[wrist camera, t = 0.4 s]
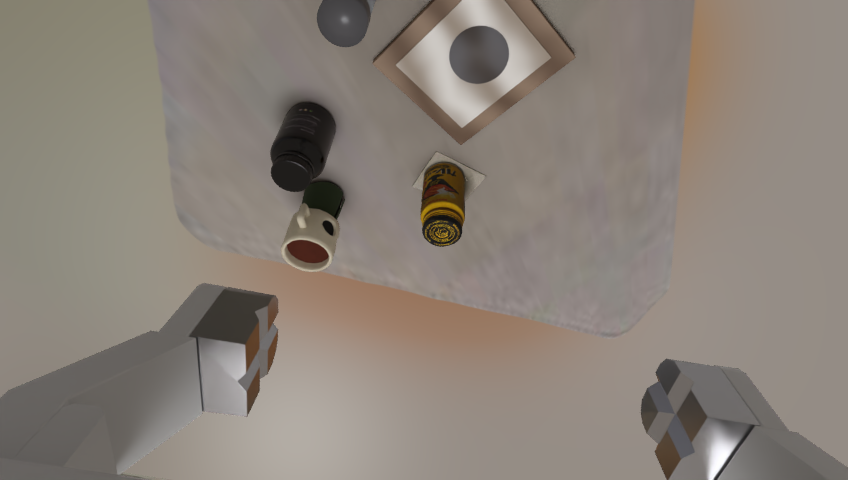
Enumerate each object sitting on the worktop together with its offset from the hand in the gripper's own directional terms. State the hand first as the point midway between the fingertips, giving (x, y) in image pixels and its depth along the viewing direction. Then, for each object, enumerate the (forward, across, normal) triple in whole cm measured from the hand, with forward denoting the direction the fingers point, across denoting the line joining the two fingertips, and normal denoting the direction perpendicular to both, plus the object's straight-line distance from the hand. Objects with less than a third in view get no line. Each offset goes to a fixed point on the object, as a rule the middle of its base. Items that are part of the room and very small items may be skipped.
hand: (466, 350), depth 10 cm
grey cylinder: (+52, +12, -5) cm, 53 cm away
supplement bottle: (+57, +18, +13) cm, 61 cm away
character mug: (+61, +16, +25) cm, 68 cm away
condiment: (+60, -3, +19) cm, 63 cm away
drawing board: (+54, -2, +1) cm, 54 cm away
